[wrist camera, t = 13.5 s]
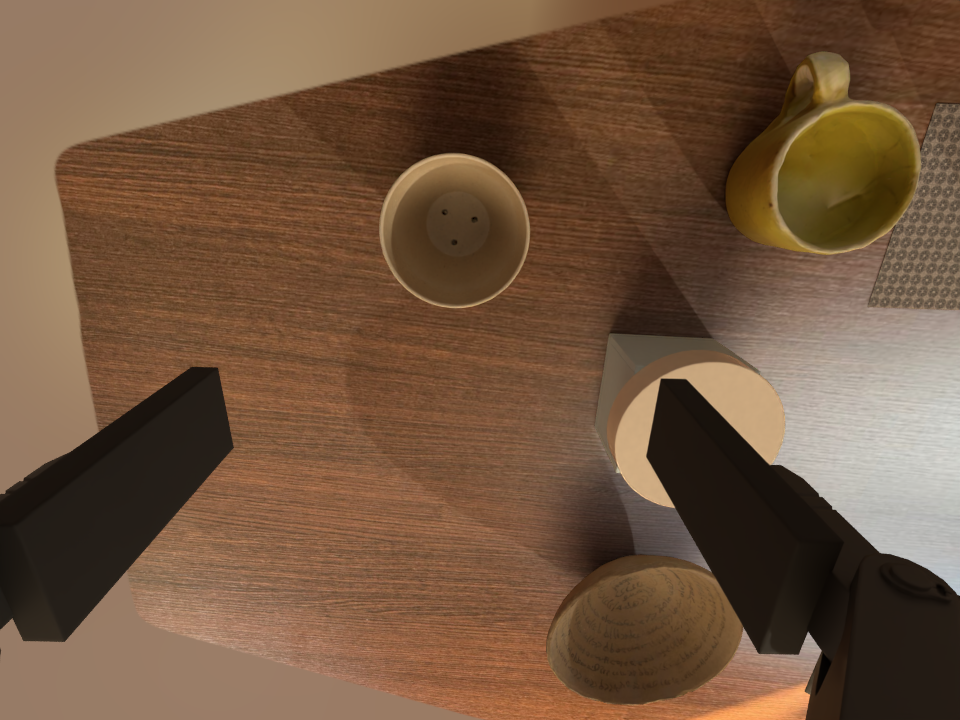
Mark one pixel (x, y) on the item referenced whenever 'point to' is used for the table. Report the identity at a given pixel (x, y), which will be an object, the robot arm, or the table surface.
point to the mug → (825, 167)
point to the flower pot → (454, 230)
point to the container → (640, 367)
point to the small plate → (720, 383)
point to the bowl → (643, 631)
